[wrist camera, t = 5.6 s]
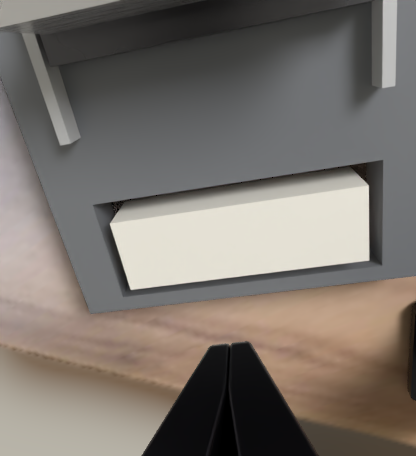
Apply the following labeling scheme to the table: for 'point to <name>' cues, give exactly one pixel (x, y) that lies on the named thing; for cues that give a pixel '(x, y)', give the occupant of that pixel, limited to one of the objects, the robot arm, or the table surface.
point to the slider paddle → (142, 22)
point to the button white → (244, 229)
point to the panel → (224, 135)
